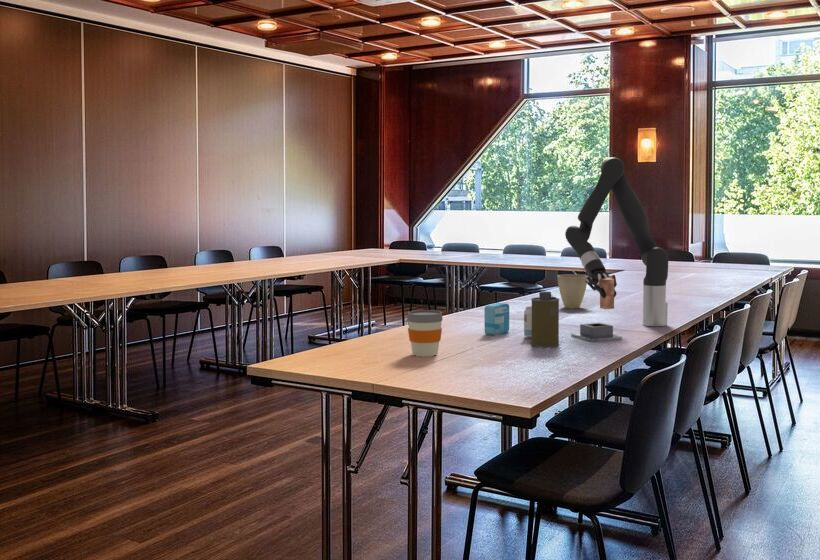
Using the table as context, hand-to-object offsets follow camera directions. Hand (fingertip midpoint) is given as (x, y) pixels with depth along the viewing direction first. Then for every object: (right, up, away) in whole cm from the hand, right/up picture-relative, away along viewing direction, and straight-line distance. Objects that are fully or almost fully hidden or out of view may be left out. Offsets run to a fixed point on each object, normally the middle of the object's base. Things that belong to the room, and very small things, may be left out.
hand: (609, 296), depth 336 cm
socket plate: (-7, -16, -9) cm, 20 cm away
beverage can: (-32, -16, -7) cm, 37 cm away
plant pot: (0, -7, +79) cm, 79 cm away
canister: (-30, -18, -23) cm, 42 cm away
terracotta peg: (-1, -5, +2) cm, 5 cm away
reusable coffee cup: (-75, -20, -39) cm, 87 cm away
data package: (-45, -15, +4) cm, 48 cm away
